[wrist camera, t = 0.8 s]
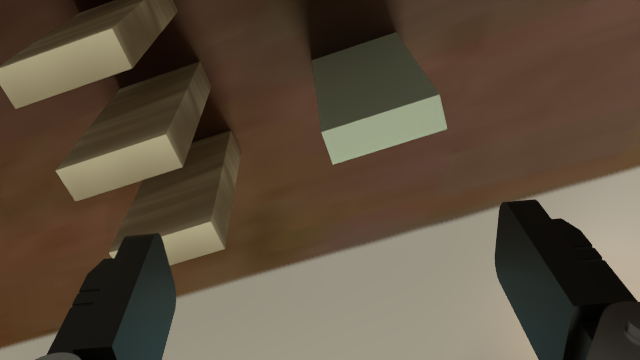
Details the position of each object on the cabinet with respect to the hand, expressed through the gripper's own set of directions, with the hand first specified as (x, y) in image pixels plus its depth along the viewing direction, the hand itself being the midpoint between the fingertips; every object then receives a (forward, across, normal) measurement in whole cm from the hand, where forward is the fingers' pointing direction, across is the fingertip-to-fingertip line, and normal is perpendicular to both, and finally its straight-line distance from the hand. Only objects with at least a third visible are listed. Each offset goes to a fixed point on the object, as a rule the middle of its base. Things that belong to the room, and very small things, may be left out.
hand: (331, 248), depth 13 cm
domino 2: (+20, +8, +2) cm, 22 cm away
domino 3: (+20, +8, +7) cm, 22 cm away
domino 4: (+20, -3, +2) cm, 20 cm away
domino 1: (+20, +10, -2) cm, 22 cm away
